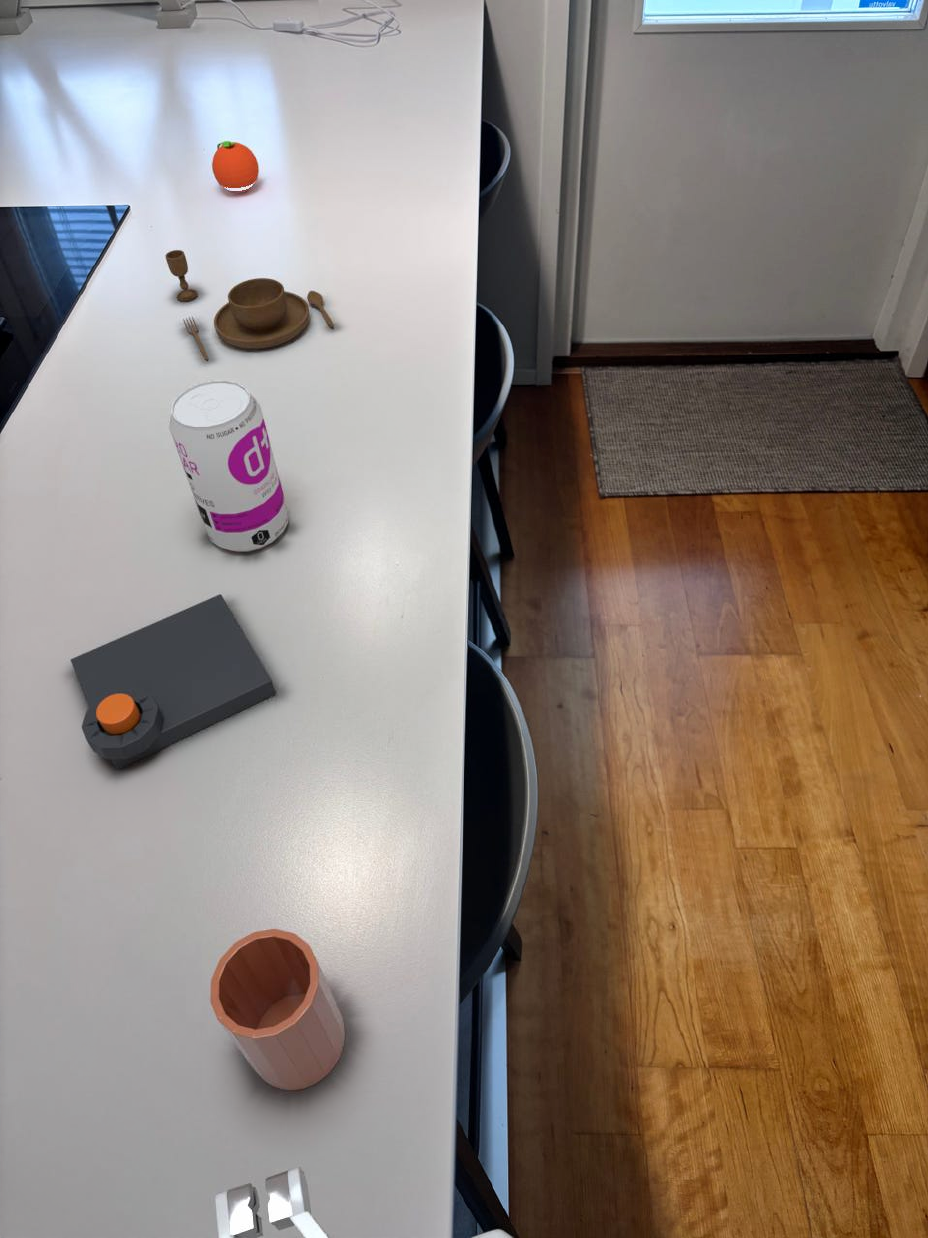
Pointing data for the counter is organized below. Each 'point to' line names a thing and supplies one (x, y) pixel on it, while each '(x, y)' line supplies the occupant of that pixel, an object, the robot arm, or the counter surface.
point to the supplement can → (229, 464)
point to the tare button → (118, 714)
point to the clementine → (234, 165)
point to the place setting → (251, 310)
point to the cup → (278, 1008)
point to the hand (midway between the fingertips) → (260, 1182)
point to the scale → (172, 679)
